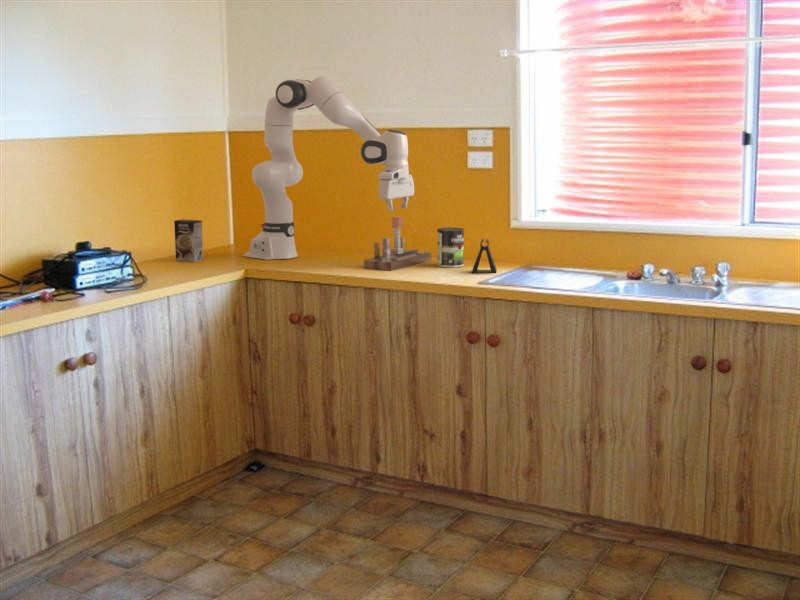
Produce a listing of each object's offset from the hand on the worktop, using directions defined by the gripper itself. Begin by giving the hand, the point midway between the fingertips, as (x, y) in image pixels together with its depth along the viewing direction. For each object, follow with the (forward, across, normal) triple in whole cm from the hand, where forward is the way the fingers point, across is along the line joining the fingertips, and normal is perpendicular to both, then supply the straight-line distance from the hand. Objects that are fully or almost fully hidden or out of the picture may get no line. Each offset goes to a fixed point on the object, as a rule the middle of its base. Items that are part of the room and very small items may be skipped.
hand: (397, 209), depth 376 cm
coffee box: (+20, +34, -76) cm, 86 cm away
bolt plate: (+21, -1, 0) cm, 21 cm away
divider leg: (+17, 0, 0) cm, 17 cm away
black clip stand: (+22, -1, +37) cm, 43 cm away
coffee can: (+22, -8, +19) cm, 30 cm away
